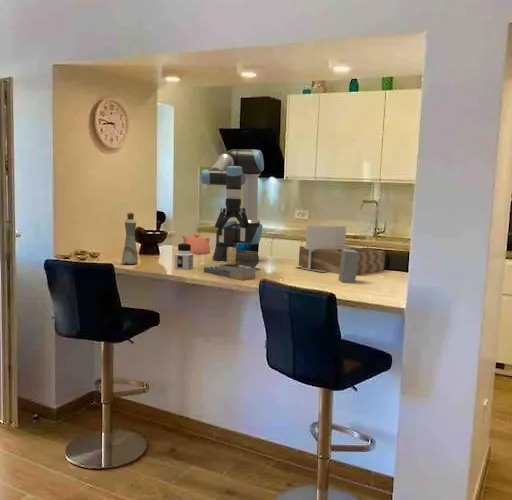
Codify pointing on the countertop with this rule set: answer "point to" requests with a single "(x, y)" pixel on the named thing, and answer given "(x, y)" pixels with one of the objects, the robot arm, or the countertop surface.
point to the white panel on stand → (324, 240)
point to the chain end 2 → (239, 271)
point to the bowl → (247, 258)
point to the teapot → (198, 244)
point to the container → (184, 257)
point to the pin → (231, 256)
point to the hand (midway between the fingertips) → (232, 241)
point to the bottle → (130, 241)
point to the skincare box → (348, 266)
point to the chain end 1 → (216, 271)
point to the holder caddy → (332, 259)
